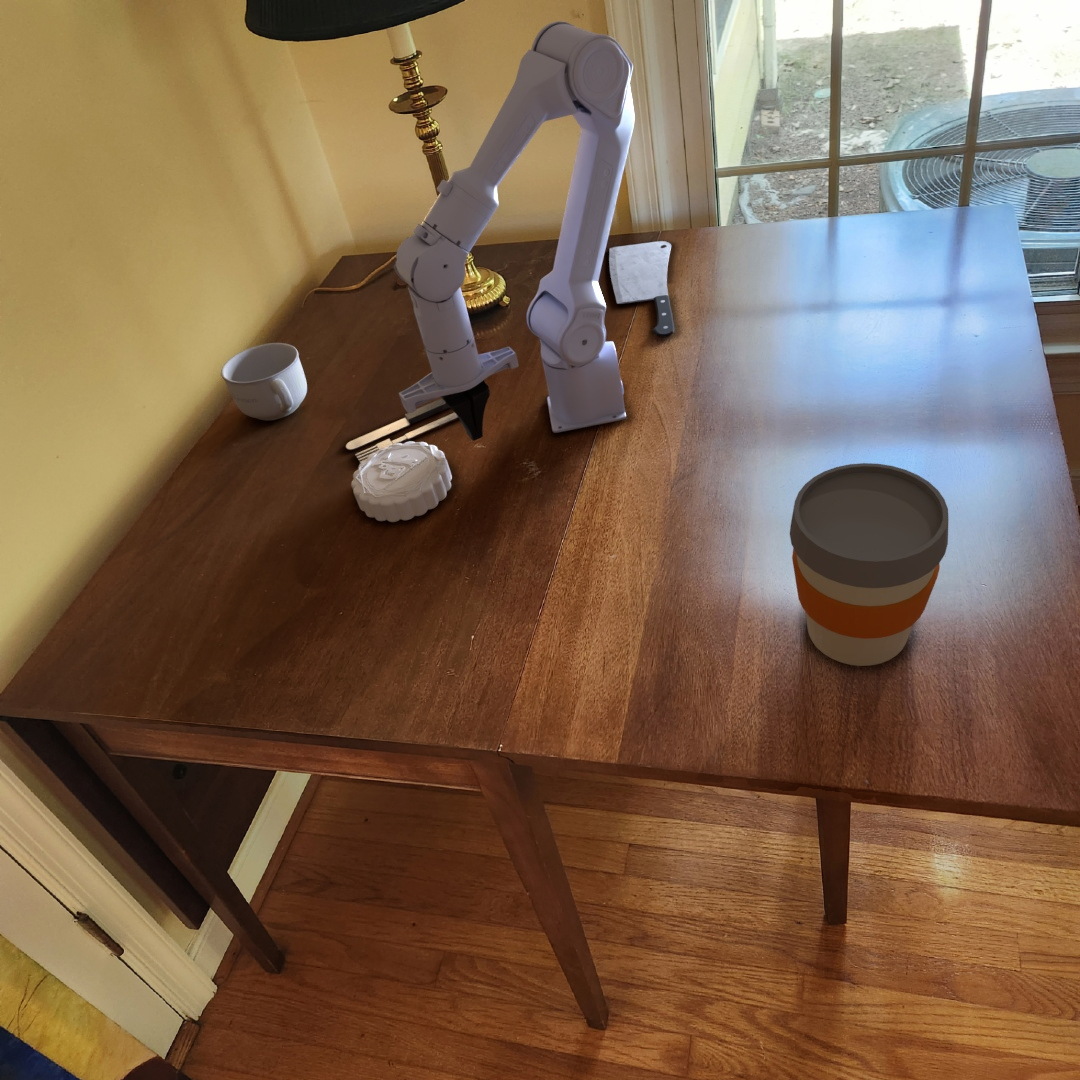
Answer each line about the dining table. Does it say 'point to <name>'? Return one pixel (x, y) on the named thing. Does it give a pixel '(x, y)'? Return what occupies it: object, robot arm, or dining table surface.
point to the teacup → (266, 380)
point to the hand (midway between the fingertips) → (474, 435)
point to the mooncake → (401, 481)
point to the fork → (407, 436)
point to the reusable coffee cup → (866, 558)
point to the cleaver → (643, 279)
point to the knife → (399, 424)
